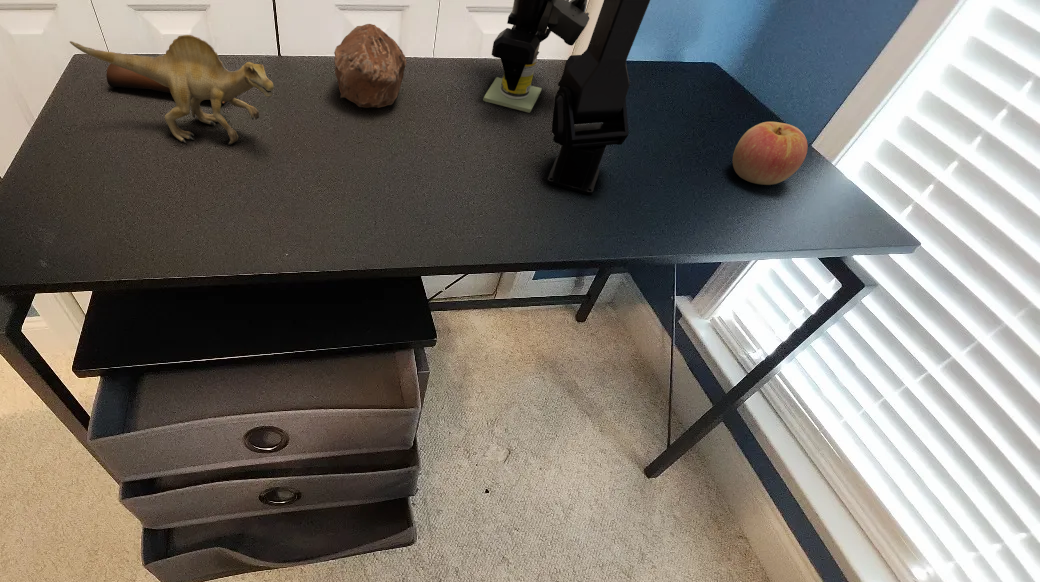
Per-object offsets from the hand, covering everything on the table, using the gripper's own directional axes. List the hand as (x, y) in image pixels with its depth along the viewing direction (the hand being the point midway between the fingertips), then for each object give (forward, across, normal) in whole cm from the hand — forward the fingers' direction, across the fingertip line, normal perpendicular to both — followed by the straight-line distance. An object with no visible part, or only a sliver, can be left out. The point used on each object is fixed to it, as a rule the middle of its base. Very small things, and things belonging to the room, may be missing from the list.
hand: (515, 83), depth 98 cm
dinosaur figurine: (+2, -33, +39) cm, 51 cm away
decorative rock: (+2, -12, +21) cm, 24 cm away
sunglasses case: (+2, -24, +49) cm, 55 cm away
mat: (+2, 0, 0) cm, 2 cm away
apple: (+2, -6, -39) cm, 39 cm away
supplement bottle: (+2, 0, 0) cm, 2 cm away
